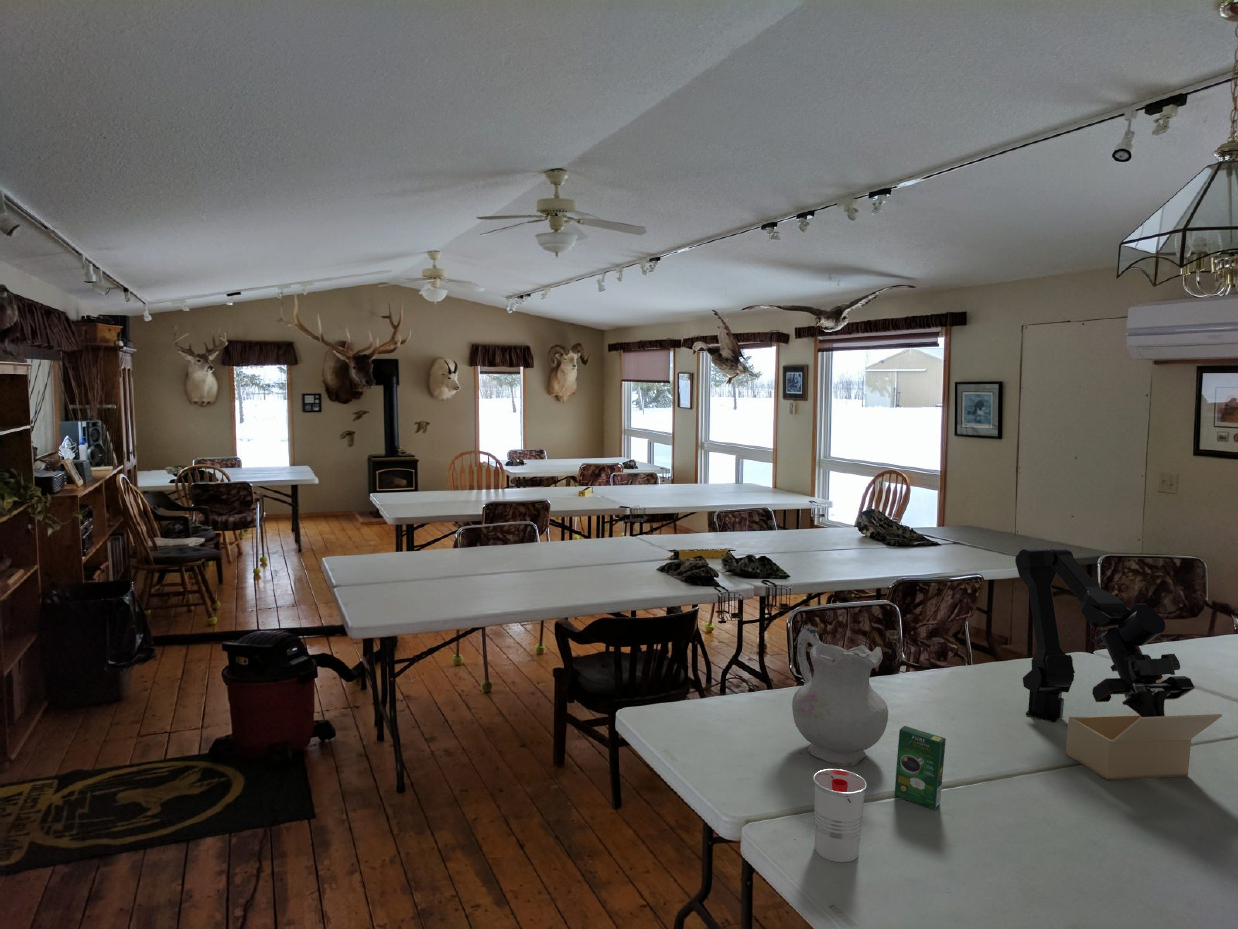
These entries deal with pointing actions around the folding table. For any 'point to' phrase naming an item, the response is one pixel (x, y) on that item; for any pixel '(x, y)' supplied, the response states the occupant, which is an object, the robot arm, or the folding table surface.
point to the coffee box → (919, 767)
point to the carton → (1123, 750)
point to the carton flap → (1166, 728)
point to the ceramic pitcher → (838, 700)
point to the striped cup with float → (838, 814)
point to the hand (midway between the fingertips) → (1162, 731)
